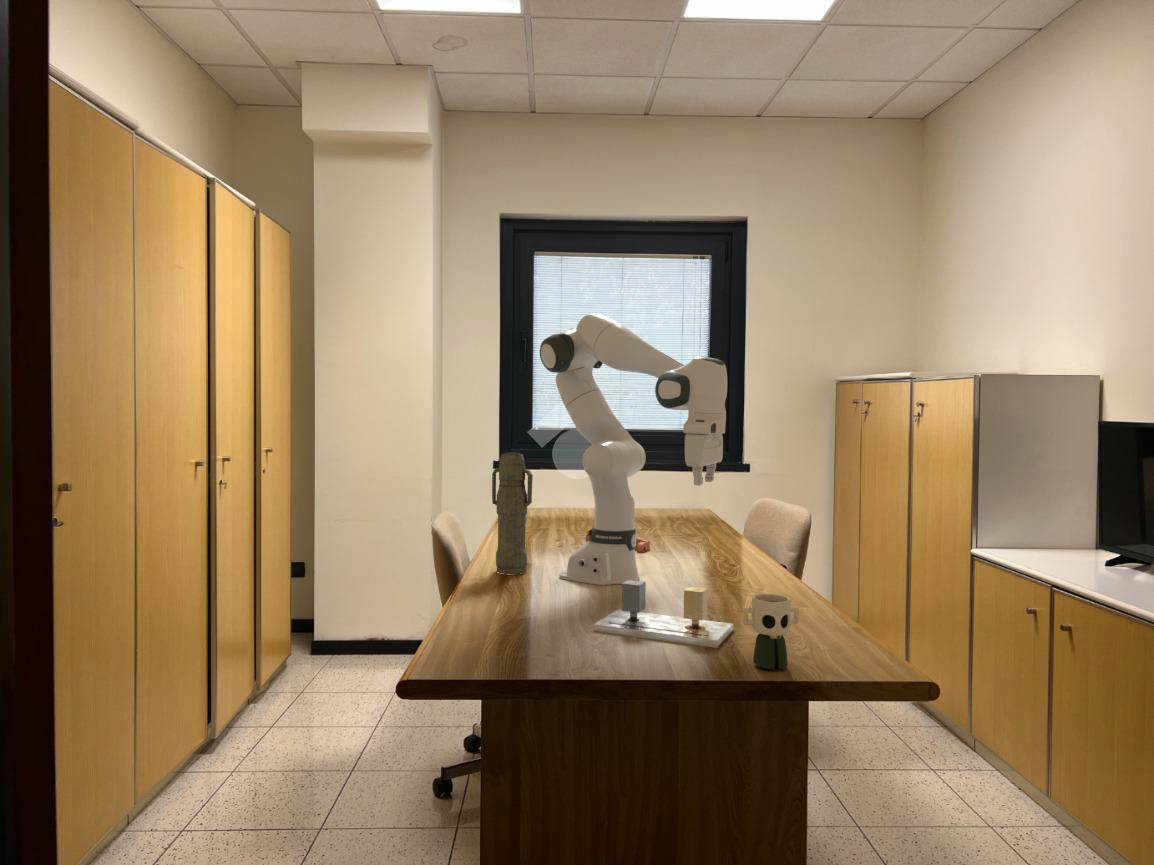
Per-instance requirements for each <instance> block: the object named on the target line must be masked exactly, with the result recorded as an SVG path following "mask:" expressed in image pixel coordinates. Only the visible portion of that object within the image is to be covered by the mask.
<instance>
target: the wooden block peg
mask: <svg viewBox="0 0 1154 865" xmlns="http://www.w3.org/2000/svg"><path fill="white" fill-rule="evenodd" d="M708 591H709V590H708V588H707V587H699V586H688V587H687V588H685V589H684V590H683V618H685V619H692V627H694V628H698V627H699V620H701V621H702V620H705V619H706V618H707V617H708V597H709V596H708V594H709V593H708Z"/></svg>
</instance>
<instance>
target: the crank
mask: <svg viewBox="0 0 1154 865" xmlns="http://www.w3.org/2000/svg"><path fill="white" fill-rule="evenodd" d="M588 541H589V535H588V536H585V543H586V542H588ZM650 545H651V541H650V540H647V539H645V538H643V537H639V536H637V535H636V548H635V551H637V553H645V552H648V551H650V549H651V548H650V547H651V546H650Z"/></svg>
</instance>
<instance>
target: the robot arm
mask: <svg viewBox="0 0 1154 865" xmlns="http://www.w3.org/2000/svg"><path fill="white" fill-rule="evenodd" d="M539 358H540V361H541V363H542V365H543V366H544V368H545V369H546V370H547V371H548V372H550V373H557V374H556V375H555V383H556V387H557V390H558V393H559V396H560V398H561V401H562V403H563V405H564V407H565V409H566V411H567V413H568V415H569V417H570V419H571V421H572V423H573V425H574V427H575V428H576V430H577V432H578V433H579V434H580V435H581V436H582V437H584V439H586V440H587V441H588V442H589V443H590V446H588V447H587V448H586V449H585V451H584V453H583V456H582V467H583V469H584V472H585V473H586V474H587V475H588V477H589V481H590V484H591V487H592V494H593V499H594V527H593V528H591V529H590V530H588V531H586V533H587V534H586V536H588V535H589V541H588V542H586V541H585V543H583V545H581V546H579V548H577V549H576V550H574V551H573V552H572V553H571V554H570V556H569V558H568V561H567V567H566V569H564V570H562V571H561V572H560V573H559V575H558V577H559V579H561V580H567V581H568V580H569V581H573V582H581V583H586V584H592V585H596V586H597V585H599V586H608V585H619V584H621V585H622V583H624V582H626V581H628V580H633V581H640V575H639V572H638V566H637V560H636V559H637V558H636V550H635V548H636V536H637V534H636V532H637V531H636V530H637V528H635V503H636V502H635V500H634V498H633V496H632V493H631V491H630V487H629V482H628V478H630V477H632V476H634V475H635V474H637V473H638V472H640V470H642V469H643V468H644V466H645V463H646V458H647V457H646V456H647V455H646V452H645V449H644V448H643V446H642V445H641V444H640V443H639V442H637V441H636V440H635V439H634V438H633V437H632V435H631V434H630V433H629V432H628V431H627V429H626V428H625V426H624V425H622V423H621V422H620V420H619V419H618V418H617V417H616V416H615V414H614V412H613V410H612V409H611V407H610V405H609V404H608V402H607V400H606V398H605V396H604V394H603V393H602V391H601V389H600V387H599V385H598V383H597V382H596V380H595V378H594V376H593V370H594V369H600V368H601V367H602V366H603V365H606V366H607V367H609V368H612V369H613V370H618V371H620V372H621V371H623V372H628V373H629V372H630V373H637V374H644V375H648V376H651V377H654V378H656V379H657V381H656V383H655V387H654V391H655V392H654V394H655V398H656V400H657V401H658V403H659V405H660V406H661V407H662V408H665V409H668V410H672V411H673V410H676V411H688V414H687V416H688V417H687V420H686V421H685V422H684V423H683V427H682V428H683V429H682V433H684V434H685V435H684V461H685V465H686V466H687V467H691V470H692V476H693V485H694V486H699V487H700V486H702V485H703V484H704V483H703V482H704V481H705V482H706V483H712V482H714V478H715V472H716V469H717V463H722V460H723V458H724V456H723V455H724V438H723V437H724V436H723V434H725V433H726V422H727V411H726V399H727V395H728V394H727V393H728V373H727V372H728V371H727V367H726V364H725V362H724V361H722V360H721V359H717V358H714V357H708V356H700V355H699V356H695V357H693V358H692V359H691V360H690V361H689V362H688V363H686V364H685V365H684V364H682V363H681V362H680V361H678V360H675V359H674V358H672V357H671V356H669V355H667V354H665V353H663V352H662V351H660V350H658V349H657V348H655V347H654V346H653V345H651V344H649V343H648V342H646V341H645V340H643V339H642V338H641V337H640V336H638V335H637V334H635V333H634V332H632V331H631V330H630V329H628V328H627V327H626V326H624V325H622V324H621V323H619V322H618V321H616V320H614V319H612V318H610V317H608V316H605V315H603V314H599V313H597V312H592V313H588V314H585V315H584V316H582V317H581V319H580V320H579V321H578V323H577V325H576V327H574V328H571V329H568V330H565V331H562V332H560V333H555V334H552V335H549V336H548V337H546V338H544V339H543V340H542V341H541V344H540V347H539ZM704 467H706V471H705V474H704V477H703V471H704V470H703V469H704ZM586 536H585V537H586Z"/></svg>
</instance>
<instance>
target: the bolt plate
mask: <svg viewBox="0 0 1154 865" xmlns="http://www.w3.org/2000/svg"><path fill="white" fill-rule="evenodd" d="M646 588H647V586H646V581H642V580H641V581H640V580H638V581H633V580H628V581H626V582H624V583H622V584H621V609H616V610H615V611H613V612H611V613H610V614H608V615H607V616H605V617H603V618H601V619H600V620H598V621H596V622H595V623H593V631H594V632H598V633H606V634H612V635H619V636H626V637H636V638H641V639H642V638H643V639H649V640H656V641H664V642H671V643H678V644H685V645H692V646H698V647H707V648H714V649H717V648H719V646H720V645H721V644H723V642H724V641H725V640H726V638H728V637H729V635H730V634H731V633H732V632H733V631H734V623H731V622H724V621H716V620H715V621H714V620H705V619H703V620H702V621H701V620H699V627H698V628H694V627H692V619H685V618H684V616H683V617H681V616H673V615H667V614H665V615H664V614H658V613H657V614H656V613H650V612H649V613H648V612H643V611H645V610H646V591H647V590H646Z"/></svg>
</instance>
